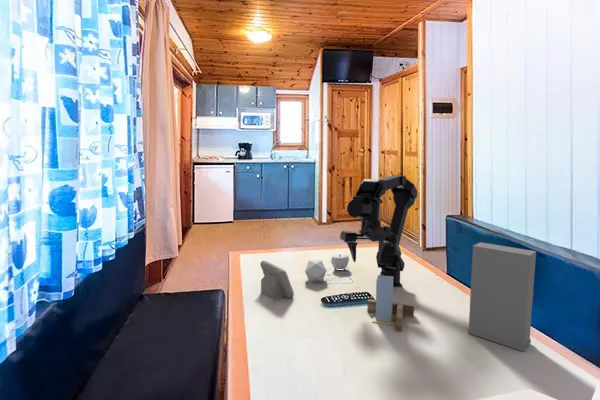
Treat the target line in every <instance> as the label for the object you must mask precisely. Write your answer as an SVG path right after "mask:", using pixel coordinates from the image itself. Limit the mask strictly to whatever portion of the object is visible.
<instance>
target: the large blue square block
mask: <svg viewBox="0 0 600 400" xmlns="http://www.w3.org/2000/svg"><path fill="white" fill-rule="evenodd" d="M375 281H376V289H375V290H376V291H375V300H376V320H377V321H384V322H391V321H392V312H393V302H394V287H393V276H382V275H380V274H378V275H377V278H376V280H375Z"/></svg>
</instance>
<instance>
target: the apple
mask: <svg viewBox="0 0 600 400" xmlns="http://www.w3.org/2000/svg"><path fill="white" fill-rule="evenodd" d="M330 261H331V264H332V267H333V269H335V268H337V269H345V268H347V266H348V265H349V262H350V258H349V255H347V254H345V253H336V254H333V255H332V256H331V260H330ZM345 270H346V269H345Z"/></svg>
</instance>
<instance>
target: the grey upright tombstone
mask: <svg viewBox="0 0 600 400" xmlns="http://www.w3.org/2000/svg"><path fill="white" fill-rule="evenodd" d="M536 257H537V251H535V250H530V249H524V248H518V247H512V246H505V245H498V244H493V243H488V242H487V243H486V242H482V241H481V242H478V243H476V244H473V245H472V257H471V259H472V260H471V277H470V295H469V296H470V299H469V314H468V315H469V317H468V329H467V333H468V334H469V335H472V336H473V335H474V336H476V337H480V338H483V339H485V340H489V341H492V342H494V343H496V344H501V345H504V346H506V347H509V348H513V349H515V350H518V351H519V352H525V351H526V349H527V348H528V347H529V346H530V344H531V342H532V338H531V329H532V328H531V327H532V326H531V325H532V314H533V313H532V311H533V298H534V287H535V285H534V284H535V272H536V260H537V258H536Z"/></svg>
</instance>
